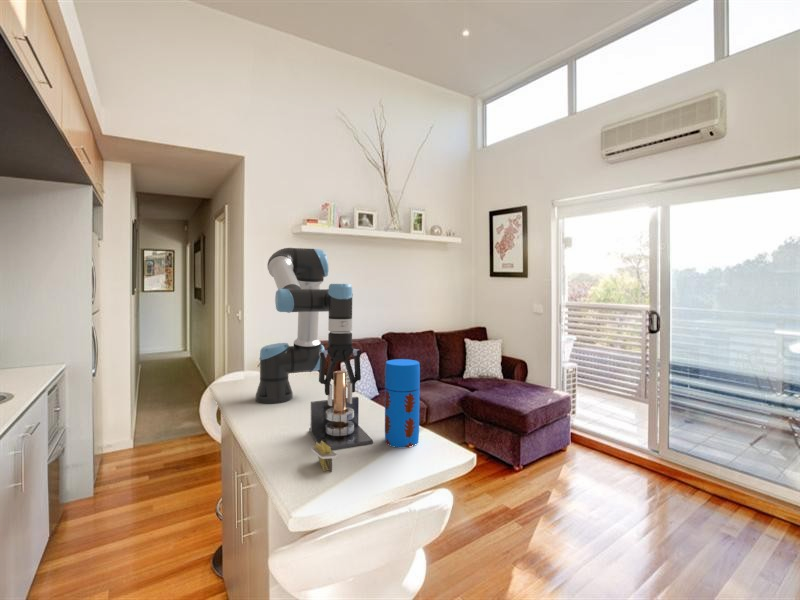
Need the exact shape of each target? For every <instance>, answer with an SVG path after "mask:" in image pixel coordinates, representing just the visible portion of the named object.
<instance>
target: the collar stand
mask: <svg viewBox="0 0 800 600" xmlns="http://www.w3.org/2000/svg"><path fill="white" fill-rule="evenodd" d="M359 400H360V399H359V397H358V396H352V404H350V403H348V402H347V397H346V413H341V414H336V413H333V398H332V406H329V405H328V399H326V400H325V399H324V400H315V401H310V427H309V428H308V431H309V433H310V435H311V436H312V438H313V440H314V441H315V443H316V442H317V443H321V441H323V442H324V443H325V444H327V445H328V446H329V447H330V448H331V450H332V451H333V450H338V449H345V448H346V447H347V448H351V447H357V446H358V445H359V446H363V445H364V444H365V445H371V444H373V443H374V439H372V438H371V436H370V435H368V433H367V432H366V431H365V430H363V428H362V427H361V426H360V425H359V411H360V410H359V402H360V401H359ZM333 421H335V422H342V421H346V427H342V428H335V427H333ZM370 443H371V444H370Z"/></svg>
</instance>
